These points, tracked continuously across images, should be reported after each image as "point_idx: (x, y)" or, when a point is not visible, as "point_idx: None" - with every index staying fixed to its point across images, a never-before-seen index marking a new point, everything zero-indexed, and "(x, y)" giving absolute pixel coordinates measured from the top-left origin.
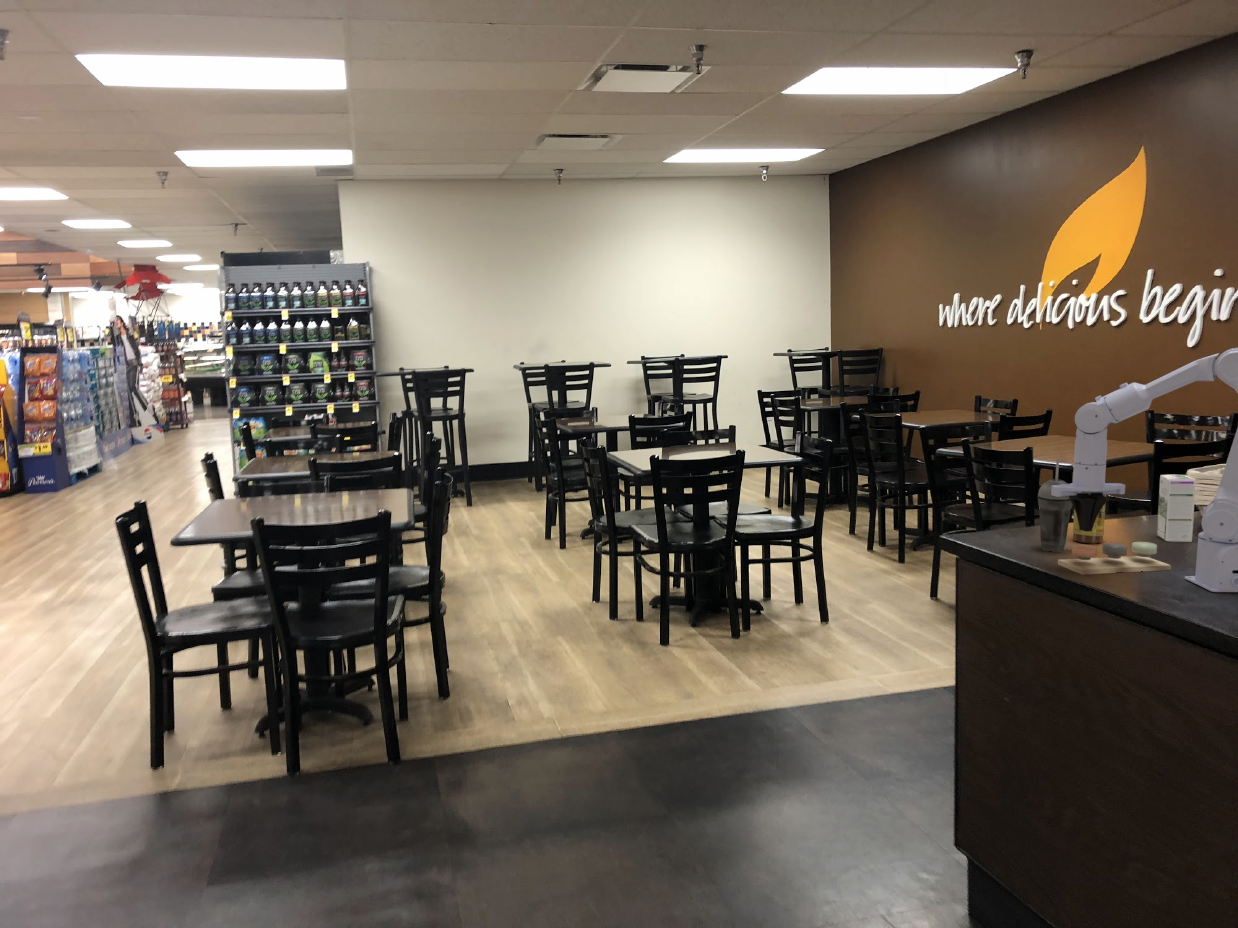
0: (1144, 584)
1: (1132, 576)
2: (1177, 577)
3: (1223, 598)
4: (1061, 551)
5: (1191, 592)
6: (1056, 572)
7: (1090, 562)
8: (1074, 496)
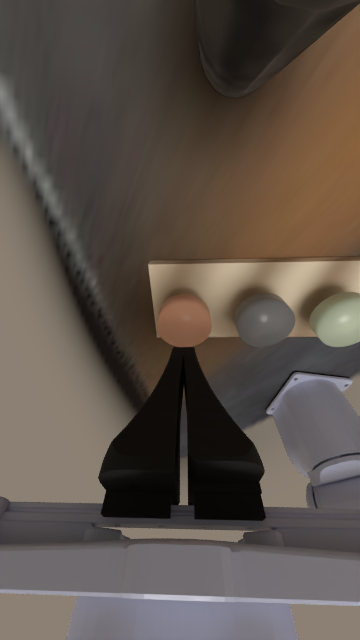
0: (216, 379)
1: (233, 349)
2: (295, 362)
3: (257, 420)
4: (249, 93)
5: (244, 405)
6: (120, 313)
7: (205, 297)
8: (111, 490)
